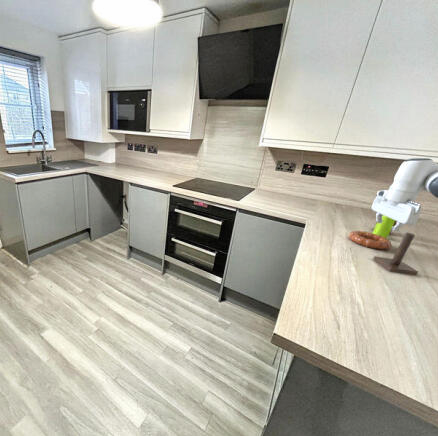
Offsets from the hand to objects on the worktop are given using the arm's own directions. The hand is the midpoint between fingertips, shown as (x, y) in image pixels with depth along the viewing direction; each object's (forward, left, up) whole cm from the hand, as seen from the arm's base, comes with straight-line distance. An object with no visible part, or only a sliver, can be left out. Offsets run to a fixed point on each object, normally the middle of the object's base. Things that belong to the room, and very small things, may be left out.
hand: (385, 226), depth 105 cm
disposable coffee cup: (-19, -26, -11) cm, 34 cm away
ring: (0, -6, -9) cm, 11 cm away
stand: (+5, +17, -11) cm, 21 cm away
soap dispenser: (-12, -18, -11) cm, 24 cm away
